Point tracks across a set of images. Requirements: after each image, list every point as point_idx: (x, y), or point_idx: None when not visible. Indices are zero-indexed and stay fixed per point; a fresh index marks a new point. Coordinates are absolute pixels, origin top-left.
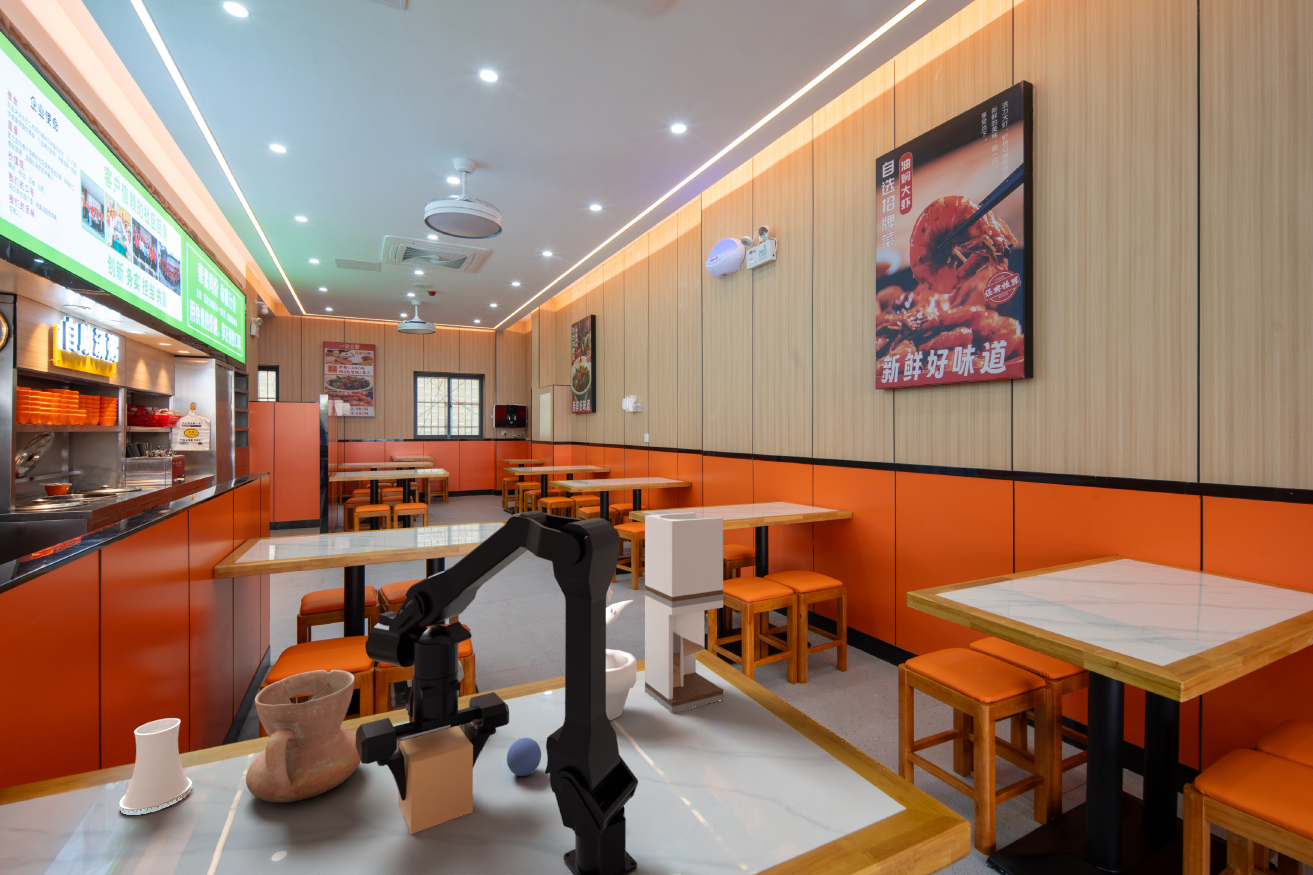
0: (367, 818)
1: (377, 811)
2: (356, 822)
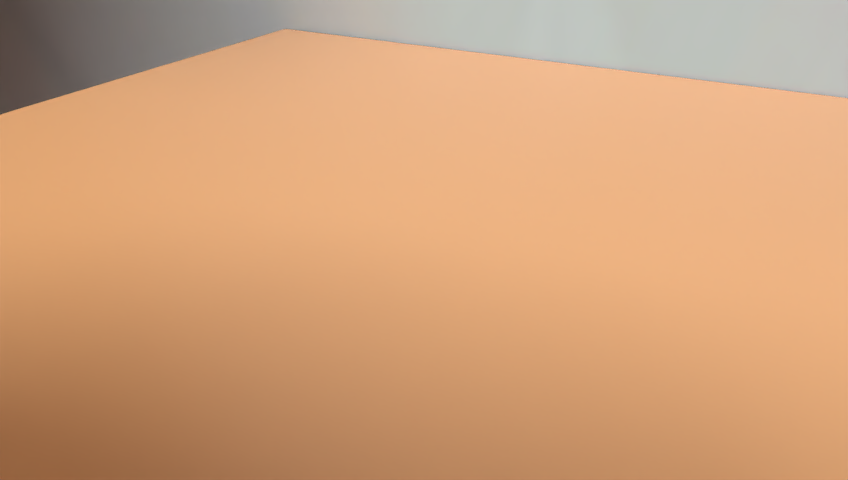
0: (82, 71)
1: (141, 28)
2: (23, 66)
